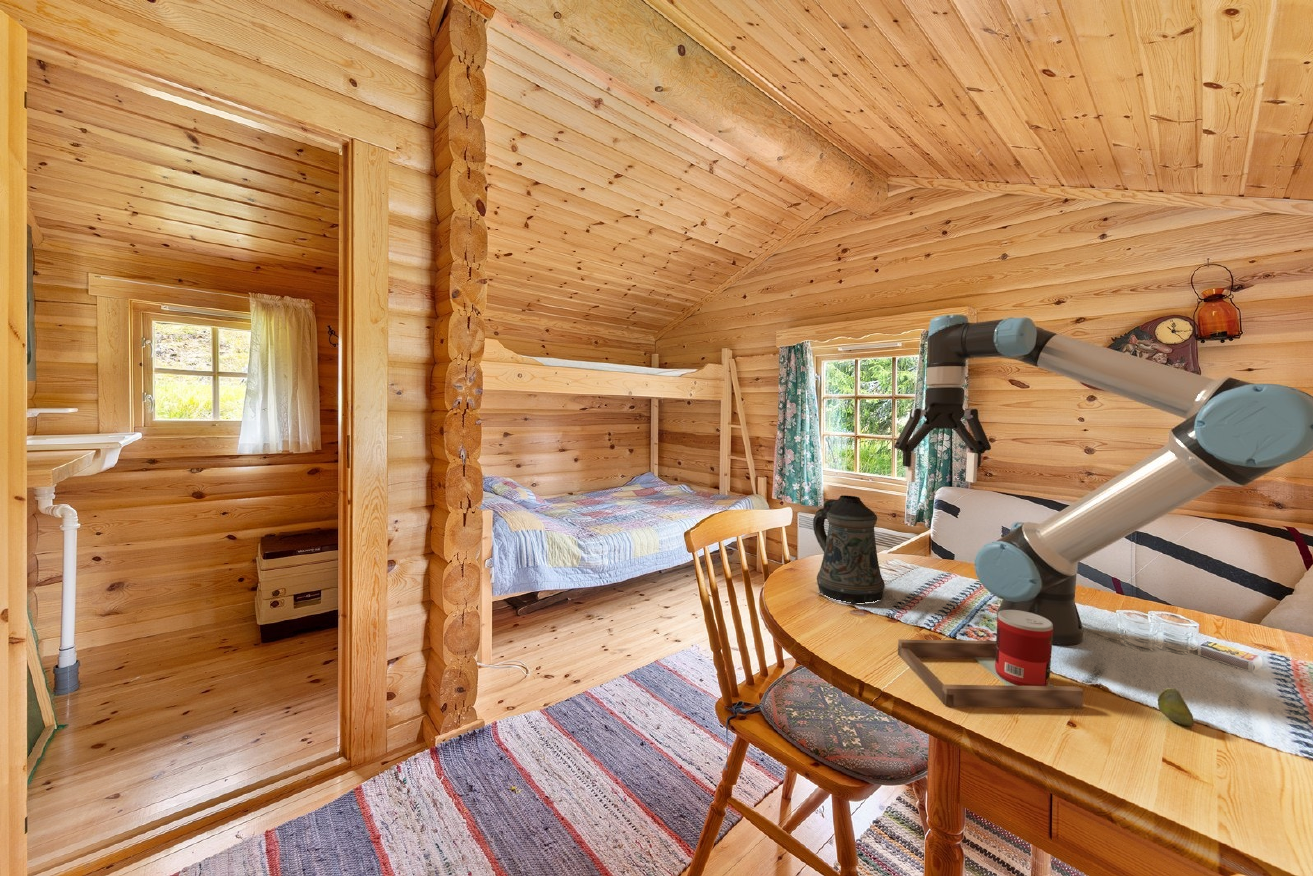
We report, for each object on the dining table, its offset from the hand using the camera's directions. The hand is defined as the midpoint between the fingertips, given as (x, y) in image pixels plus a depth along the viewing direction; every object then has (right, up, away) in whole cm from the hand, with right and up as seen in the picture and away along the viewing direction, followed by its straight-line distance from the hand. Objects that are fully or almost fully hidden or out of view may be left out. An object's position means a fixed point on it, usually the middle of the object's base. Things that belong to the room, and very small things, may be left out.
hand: (940, 481), depth 114 cm
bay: (-6, -33, -23) cm, 41 cm away
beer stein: (-15, -31, +19) cm, 39 cm away
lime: (+17, -35, -35) cm, 52 cm away
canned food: (+1, -33, -23) cm, 41 cm away
